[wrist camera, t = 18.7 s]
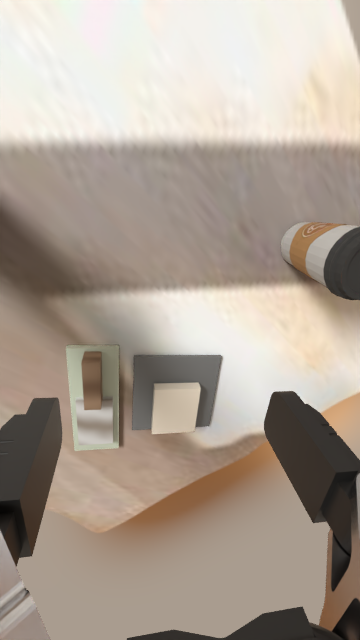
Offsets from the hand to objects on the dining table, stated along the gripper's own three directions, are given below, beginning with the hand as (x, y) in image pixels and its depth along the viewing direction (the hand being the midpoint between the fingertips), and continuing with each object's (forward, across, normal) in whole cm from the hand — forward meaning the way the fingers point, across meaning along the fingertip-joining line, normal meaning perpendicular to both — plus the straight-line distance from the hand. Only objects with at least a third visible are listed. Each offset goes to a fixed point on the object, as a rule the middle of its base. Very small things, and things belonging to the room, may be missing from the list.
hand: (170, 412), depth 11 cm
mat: (+33, -7, +26) cm, 43 cm away
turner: (+32, +7, +26) cm, 42 cm away
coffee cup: (+33, -24, -2) cm, 41 cm away
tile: (+31, -7, +23) cm, 40 cm away
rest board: (+33, +7, +27) cm, 43 cm away
